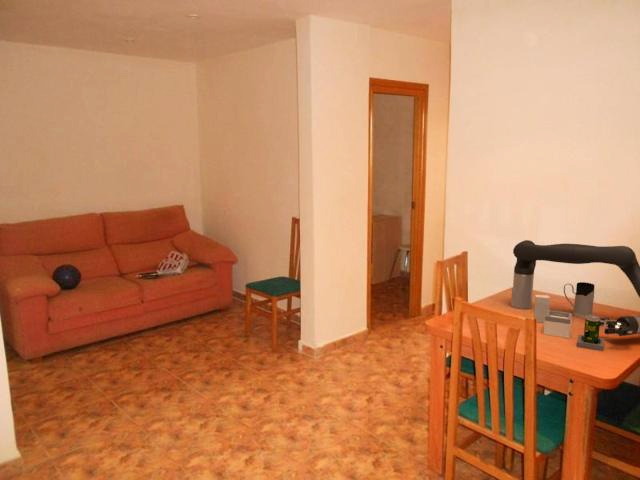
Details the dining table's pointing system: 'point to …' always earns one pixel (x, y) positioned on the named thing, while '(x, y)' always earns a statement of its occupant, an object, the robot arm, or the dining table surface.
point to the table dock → (590, 344)
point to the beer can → (591, 329)
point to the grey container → (583, 299)
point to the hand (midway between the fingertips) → (597, 327)
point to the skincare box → (541, 307)
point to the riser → (558, 323)
